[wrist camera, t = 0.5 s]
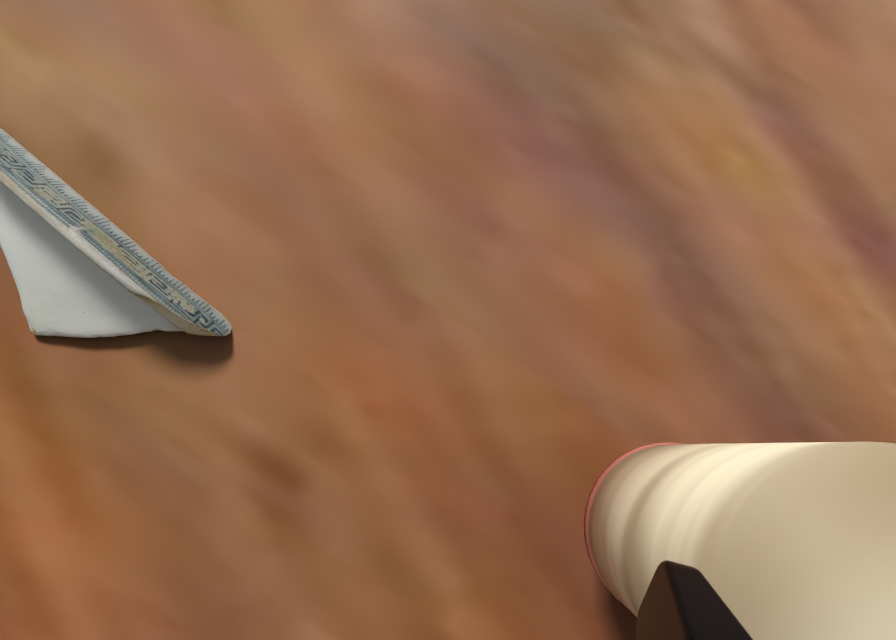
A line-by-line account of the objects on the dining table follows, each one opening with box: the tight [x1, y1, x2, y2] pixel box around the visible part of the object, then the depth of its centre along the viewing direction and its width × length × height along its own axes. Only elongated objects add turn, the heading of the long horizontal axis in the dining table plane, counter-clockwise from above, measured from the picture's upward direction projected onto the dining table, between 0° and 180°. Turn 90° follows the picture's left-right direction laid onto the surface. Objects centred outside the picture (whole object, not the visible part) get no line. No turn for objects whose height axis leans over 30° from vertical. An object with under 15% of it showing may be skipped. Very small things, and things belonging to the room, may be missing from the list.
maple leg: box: [584, 442, 896, 640], centre depth 16 cm, size 5×5×13 cm
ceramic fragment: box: [0, 128, 232, 338], centre depth 23 cm, size 14×5×4 cm, turn 50°
